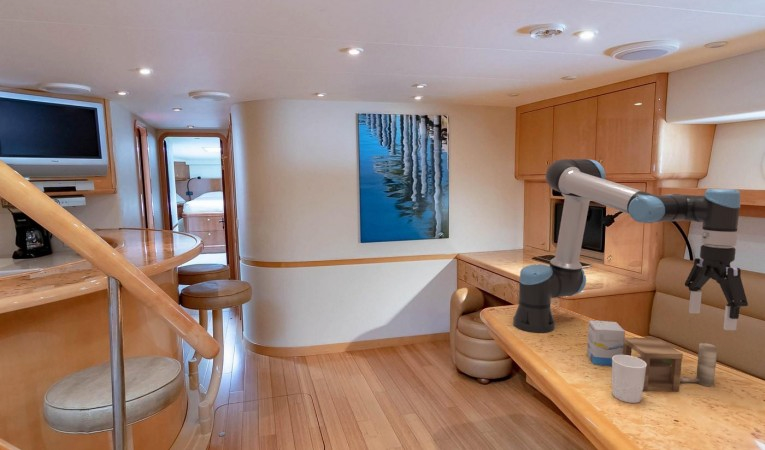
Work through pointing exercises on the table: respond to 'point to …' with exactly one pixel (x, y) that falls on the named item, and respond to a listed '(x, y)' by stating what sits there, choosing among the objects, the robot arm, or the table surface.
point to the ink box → (604, 342)
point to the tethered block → (705, 367)
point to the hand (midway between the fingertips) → (711, 320)
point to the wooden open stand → (656, 350)
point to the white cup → (628, 378)
